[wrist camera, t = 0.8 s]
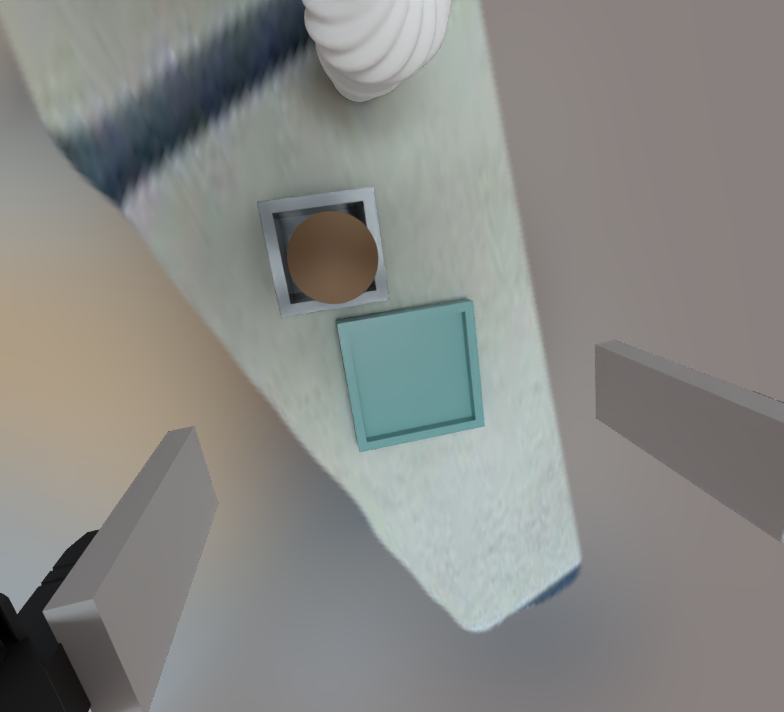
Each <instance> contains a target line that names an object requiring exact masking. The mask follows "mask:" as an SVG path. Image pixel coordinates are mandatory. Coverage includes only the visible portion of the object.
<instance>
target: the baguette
mask: <svg viewBox="0 0 784 712" xmlns="http://www.w3.org/2000/svg"><path fill="white" fill-rule="evenodd" d="M378 259H379V257H378V249H377V245H376V242H375V240H374V238H373V236H372V234H371V232H370V231H369V229H368V228H367V227H366V226H365V225H364V224H363V223H362V222H361V221H360V220H358V219H357V218H355V217H353V216H351V215H349V214H346V213H343V212H338V211H325V212H320V213H317V214H314V215H312V216H310V217H308V218H307V219H305V220H304V221H303V222H302V223H301V224H300V225H299V226H298V227H297V228H296V229H295V231H294V232H293V234H292V236H291V238H290V241H289V244H288V249H287V264H288V268H289V272H290V274H291V277H292V279H293V280H294V282H295V284H296V285H297V286H298V288H299V289H300V290H301V291H302V292H303V293H305V294H306V295H307V296H309V297H310V298H312V299H314V300H316V301H319V302H322V303H327V304H341V303H345V302H349V301H351V300H353V299H355V298H357V297H359V296H360V295H361V294H363V293H364V292H365V291H366V290H367V289H368V287H369V286H370V285H371V283H372V282H373V280H374V278H375V275H376V272H377V268H378Z"/></svg>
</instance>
